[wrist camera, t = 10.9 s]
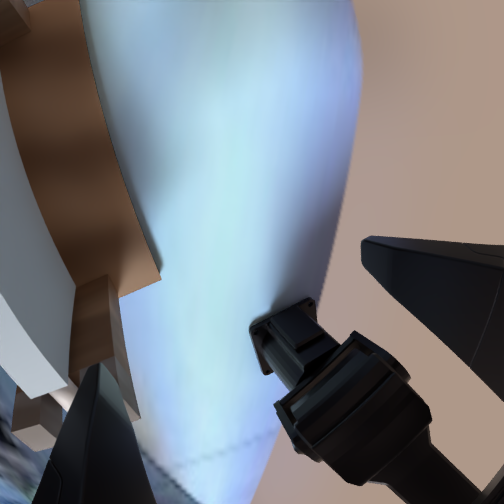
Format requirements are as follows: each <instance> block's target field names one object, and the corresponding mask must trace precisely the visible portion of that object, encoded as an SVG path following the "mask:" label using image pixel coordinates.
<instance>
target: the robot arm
mask: <svg viewBox="0 0 504 504" xmlns="http://www.w3.org/2000/svg"><path fill="white" fill-rule="evenodd" d="M361 261H362V264H363V266H364V268H365V269H366V270H367V271H368V272H369V273H370V274H371V275H372V276H373V277H374V278H375V279H376V280H377V281H378V282H379V283H380V284H381V285H382V286H383V287H384V289H385V290H386V291H387V292H388V293H389V294H390V295H392V296H393V297H394V298H395V299H396V300H397V301H398V302H399V303H400V304H401V305H403V306H404V307H405V308H406V309H407V310H408V311H409V312H410V313H412V314H413V315H414V316H415V317H416V318H417V319H418V320H419V321H420V322H422V323H423V324H424V325H425V326H426V327H427V328H428V329H429V330H430V331H431V332H433V333H434V334H435V335H436V336H437V337H438V338H439V339H440V340H441V341H442V342H443V343H444V344H445V345H446V346H448V347H449V348H450V349H451V350H452V351H453V352H454V353H455V354H456V355H457V356H458V357H459V358H460V359H461V360H462V361H463V362H464V363H465V364H466V365H467V366H468V367H470V369H471V370H472V371H473V372H474V373H475V374H476V375H477V376H478V377H479V378H480V379H481V380H482V381H483V382H484V383H485V384H486V385H487V386H488V387H489V388H490V389H491V390H492V391H493V392H494V393H495V394H496V395H497V396H498V397H499V398H500V399H501V400H502V401H503V402H504V245H485V244H472V243H460V242H449V241H437V240H423V239H412V238H398V237H397V238H396V237H383V236H369V237H367V238H365V239H363V240H362V241H361ZM309 303H310V304H309ZM256 330H257V331H256ZM255 331H256V332H255ZM249 334H250V337H251V340H252V344H253V347H254V350H255V353H256V356H257V359H258V362H259V365H260V368H261V372H262V373H263V374H264V375H269V374H271V373H273V372H275V374H276V375H277V376H278V377H279V379H280V380H281V381H282V383H283V384H284V385H285V386H286V388H287V389H288V390H289V391H290V392H289V393H288V394H287V395H286V396H284V397H283V398H282V399H281V400H280V401H279V400H278V401H277V402H276V403H274V404H273V405H274V407H275V409H276V411H277V412H276V414H277V415H278V417H279V419H280V421H281V423H282V425H283V427H284V428H285V430H286V432H287V434H288V435H289V437H290V439H291V442H292V445H293V448H294V450H295V451H296V452H297V453H298V454H304V455H306V456H308V457H310V458H311V459H312V460H314V461H316V462H318V463H320V462H321V461H324V462H325V463H326V464H328V465H329V466H330V467H331V468H332V469H333V470H334V471H335V472H336V473H338V475H340V476H341V477H342V478H343V479H344V480H345V481H346V482H347V483H350V484H354V485H357V486H362V485H364V484H365V483H366V482H368V483H375V484H383V485H386V486H387V487H388V488H390V489H391V490H392V491H393V492H394V493H395V494H396V495H397V496H398V497H400V498H401V499H402V500H403V501H404V502H405V503H406V504H504V465H503V466H502V467H501V469H500V470H499V471H498V473H497V474H496V475H495V476H494V478H493V479H492V480H491V482H490V483H489V484H488V485H487V486H486V488H485V489H484V490H483V491H482V492H481V491H480V490H479V489H478V488H477V487H476V486H475V485H474V484H473V483H472V482H471V481H470V480H469V479H468V478H467V477H466V476H465V475H464V474H463V473H462V472H461V471H459V470H458V469H457V468H456V467H455V466H454V465H453V464H452V463H451V462H450V461H449V460H448V459H447V458H446V457H445V456H444V455H443V454H442V453H441V452H440V451H439V450H438V449H437V448H436V447H435V446H434V445H433V444H432V443H431V438H430V431H429V424H430V423H431V422H432V417H431V413H430V409H429V406H428V405H427V404H426V403H425V402H424V400H423V399H422V398H421V397H420V396H419V395H418V394H417V393H416V392H415V391H414V390H413V389H412V387H410V385H409V384H408V381H409V380H410V379H411V377H410V375H409V373H408V372H407V370H406V369H405V368H404V367H403V366H402V365H401V364H400V363H399V362H398V361H397V360H396V359H395V358H394V357H393V356H392V355H391V354H389V353H388V352H387V351H385V350H384V349H383V348H381V347H379V346H378V345H376V344H375V343H373V342H372V341H370V340H369V339H367V338H366V337H364V336H363V335H361V334H359V333H358V332H356V331H355V330H354V331H353V332H352V333H351V334H350V337H349V338H348V339H347V340H346V341H345V342H344V343H343V344H342V345H340V344H339V343H338V342H337V341H336V340H335V339H334V338H333V337H332V336H331V335H329V334H328V333H327V332H326V331H325V330H324V329H323V328H322V327H321V326H320V325H319V324H318V323H317V315H316V305H315V300H313V299H312V298H310V297H309V298H307V299H305V300H303V301H301V302H299V303H297V304H295V305H293V306H292V307H290V308H288V309H286V310H284V311H282V312H280V313H278V314H276V315H274V316H272V317H270V318H268V319H266V320H264V321H262V322H260V323H258V324H256V325H254V326H252V327H251V328H250V330H249ZM32 504H157V503H156V500H155V498H154V495H153V492H152V489H151V486H150V483H149V480H148V477H147V474H146V471H145V468H144V464H143V461H142V458H141V454H140V451H139V447H138V443H137V440H136V436H135V433H134V429H133V426H132V423H131V421H130V418H129V415H128V412H127V410H126V407H125V404H124V401H123V398H122V395H121V392H120V389H119V386H118V384H117V382H116V380H115V379H114V377H113V376H112V375H111V373H110V372H109V371H108V370H107V368H106V367H105V366H104V364H102V363H101V362H98V363H96V364H93V365H91V366H89V367H88V369H87V371H86V373H85V375H84V377H83V379H82V381H81V384H80V386H79V388H78V390H77V392H76V394H75V397H74V399H73V401H72V403H71V406H70V408H69V410H68V413H67V415H66V417H65V420H64V422H63V424H62V427H61V429H60V432H59V434H58V437H57V439H56V442H55V444H54V447H53V449H52V452H51V455H50V460H48V463H47V465H46V468H45V471H44V474H43V476H42V479H41V482H40V484H39V487H38V489H37V491H36V494H35V496H34V499H33V501H32Z"/></svg>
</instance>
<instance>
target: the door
mask: <svg viewBox="0 0 504 504" xmlns="http://www.w3.org/2000/svg"><path fill="white" fill-rule="evenodd" d="M75 289H76V285H75V283H74V282H73V280H72V278H71V276H70V274H69V272H68V270H67V268H66V266H65V264H64V262H63V260H62V258H61V256H60V254H59V252H58V250H57V248H56V246H55V244H54V242H53V240H52V237H51V235H50V233H49V231H48V228H47V226H46V224H45V222H44V219H43V217H42V214H41V212H40V210H39V207H38V205H37V202H36V200H35V197H34V194H33V192H32V189H31V186H30V184H29V181H28V178H27V175H26V172H25V169H24V166H23V163H22V160H21V157H20V154H19V150H18V147H17V144H16V140H15V137H14V133H13V129H12V125H11V121H10V117H9V113H8V109H7V104H6V100H5V95H4V90H3V84H2V78H1V72H0V365H1V366H2V367H3V369H4V370H5V371H6V372H7V373H8V374H9V376H10V377H11V378H12V379H13V380H14V381H15V382H16V384H17V385H18V386H19V387H20V388H21V389H22V390H23V391H24V392H25V393H26V394H27V395H28V396H29V398H30V399H33V398H35V397H38V396H41V395H44V394H47V393H49V394H50V395H51V396H52V397H53V398H54V399H55V400H56V401H57V402H58V403H59V404H60V405H61V406H62V407H63V408H64V409H65V410H66V411H67V412H68V410H69V408H70V406H71V403H72V401H73V399H74V397H75V394H76V392H77V390H78V388H77V386H76V385H75V384H74V383H73V382H72V381H71V379H70V378H69V377H68V367H69V347H70V334H71V323H72V313H73V304H74V297H75Z"/></svg>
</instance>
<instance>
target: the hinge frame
mask: <svg viewBox="0 0 504 504" xmlns="http://www.w3.org/2000/svg"><path fill="white" fill-rule="evenodd" d="M0 72H1V78H2V84H3V90H4V95H5V100H6V104H7V109H8V113H9V117H10V121H11V125H12V129H13V133H14V137H15V140H16V144H17V147H18V150H19V154H20V157H21V160H22V163H23V166H24V169H25V172H26V175H27V178H28V181H29V184H30V186H31V189H32V192H33V194H34V197H35V200H36V202H37V205H38V207H39V210H40V212H41V214H42V217H43V219H44V222H45V224H46V226H47V228H48V231H49V233H50V235H51V237H52V240H53V242H54V244H55V246H56V248H57V250H58V252H59V254H60V256H61V258H62V260H63V262H64V264H65V266H66V268H67V270H68V272H69V274H70V276H71V278H72V280H73V282H74V283H75V285H76V289H75V297H74V304H73V313H72V323H71V334H70V347H69V367H68V377H69V378H70V379H71V381H72V382H73V383H74V384H75V385H76V386H77V388H79V386H80V384H81V381H82V379H83V377H84V375H85V373H86V371H87V369H88V367H89V366H91V365H93V364H96V363H98V362H101V363H102V364H104V366H105V367H106V368H107V370H108V371H109V372H110V373H111V375H112V376H113V377H114V379H115V380H116V382H117V384H118V386H119V389H120V392H121V395H122V398H123V401H124V404H125V407H126V410H127V412H128V415H129V418H130V421H131V422H133V421H136V420H139V419H141V416H140V413H139V409H138V404H137V400H136V396H135V392H134V387H133V383H132V378H131V373H130V368H129V363H128V358H127V352H126V347H125V341H124V334H123V328H122V321H121V314H120V307H119V299H118V298H120V297H123V296H125V295H127V294H130V293H132V292H134V291H137V290H139V289H141V288H143V287H146V286H148V285H150V284H153V283H155V282H157V281H160V280H162V279H161V276H160V274H159V272H158V269H157V267H156V264H155V262H154V260H153V257H152V255H151V252H150V250H149V247H148V245H147V242H146V240H145V237H144V235H143V232H142V229H141V227H140V224H139V222H138V219H137V216H136V214H135V211H134V208H133V205H132V203H131V200H130V197H129V194H128V191H127V189H126V186H125V183H124V180H123V177H122V174H121V171H120V168H119V165H118V162H117V158H116V155H115V152H114V149H113V146H112V142H111V139H110V136H109V132H108V129H107V126H106V122H105V118H104V115H103V111H102V108H101V104H100V100H99V96H98V92H97V88H96V84H95V80H94V76H93V72H92V67H91V63H90V58H89V54H88V49H87V44H86V39H85V33H84V28H83V22H82V16H81V10H80V4H79V0H44V1H42V2H39V3H37V4H35V5H33V6H30V7H28V8H27V6H26V5H25V3H24V1H23V0H0ZM61 427H62V406H61V405H60V404H59V403H58V402H57V401H56V400H55V399H54V398H53V397H52V396H51V395H50V394H49V393H47V394H44V395H41V396H38V397H35V398H33V399H30V398H29V396H28V395H27V394H26V393H25V392H24V391H23V390H22V389H21V388H20V387H19V386H18V385H17V389H16V396H15V403H14V410H13V419H12V429H11V433H13V434H14V435H15V436H16V437H17V438H19V439H20V440H21V441H22V442H23V443H25V444H26V445H27V446H28V447H30V448H31V449H32V450H34V451H35V452H36V451H40V450H44V449H48V448H52V447H54V444H55V442H56V439H57V437H58V434H59V432H60V429H61Z"/></svg>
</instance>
